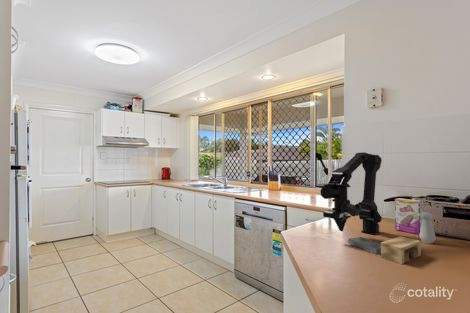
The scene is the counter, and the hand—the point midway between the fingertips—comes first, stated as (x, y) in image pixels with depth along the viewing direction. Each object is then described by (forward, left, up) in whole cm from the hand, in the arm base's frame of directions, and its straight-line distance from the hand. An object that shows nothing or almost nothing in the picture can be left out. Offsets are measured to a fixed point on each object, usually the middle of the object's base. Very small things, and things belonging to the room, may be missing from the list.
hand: (341, 231), depth 113 cm
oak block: (+25, 0, -4) cm, 25 cm away
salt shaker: (+23, +28, -4) cm, 37 cm away
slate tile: (+12, 0, -4) cm, 13 cm away
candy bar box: (+11, +40, -4) cm, 42 cm away
